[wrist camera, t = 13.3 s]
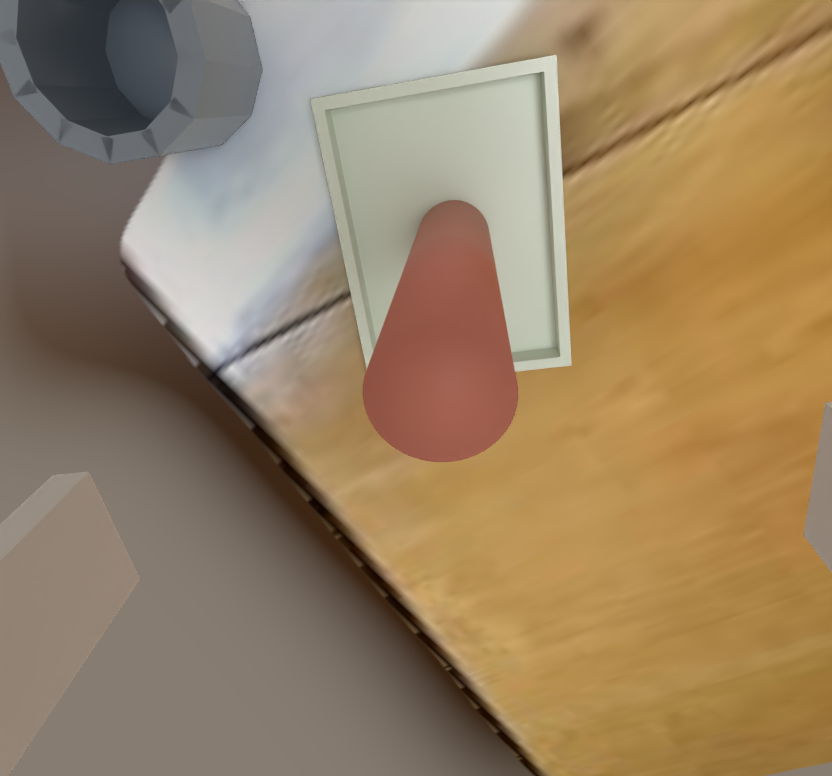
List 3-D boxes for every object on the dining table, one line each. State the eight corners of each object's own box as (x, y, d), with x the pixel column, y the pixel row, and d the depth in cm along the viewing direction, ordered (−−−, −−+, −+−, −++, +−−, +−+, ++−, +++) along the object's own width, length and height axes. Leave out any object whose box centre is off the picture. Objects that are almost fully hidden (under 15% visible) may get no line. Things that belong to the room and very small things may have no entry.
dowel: (412, 205, 33) (348, 333, 15) (485, 195, 32) (510, 313, 14) (423, 276, 34) (378, 468, 16) (492, 267, 34) (524, 454, 16)
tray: (319, 98, 31) (309, 98, 29) (550, 57, 30) (556, 54, 28) (375, 373, 38) (370, 387, 36) (565, 351, 36) (571, 365, 34)
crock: (67, -24, 30) (-50, -61, 23) (231, -60, 28) (160, -110, 22) (129, 160, 33) (45, 175, 27) (277, 134, 32) (228, 144, 25)
